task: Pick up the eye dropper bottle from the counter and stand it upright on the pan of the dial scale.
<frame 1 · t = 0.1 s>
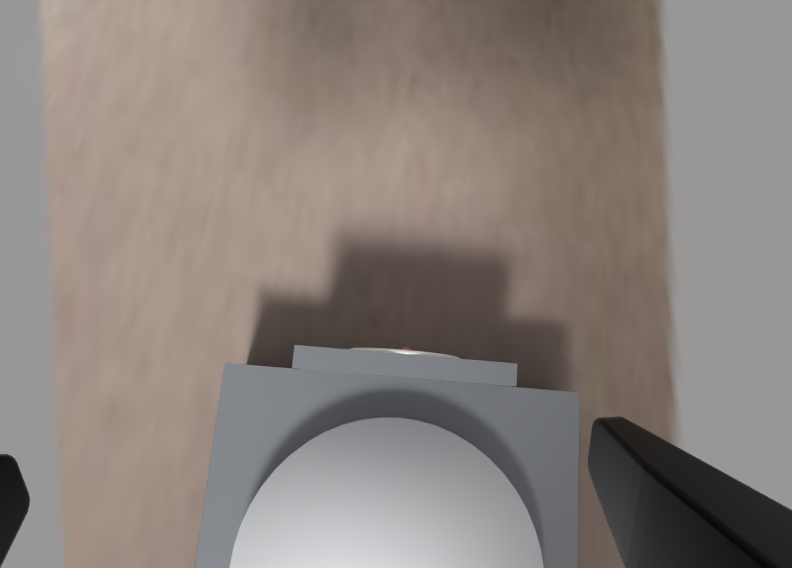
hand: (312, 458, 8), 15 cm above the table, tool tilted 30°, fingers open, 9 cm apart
dial scale: (387, 545, 21), on the table
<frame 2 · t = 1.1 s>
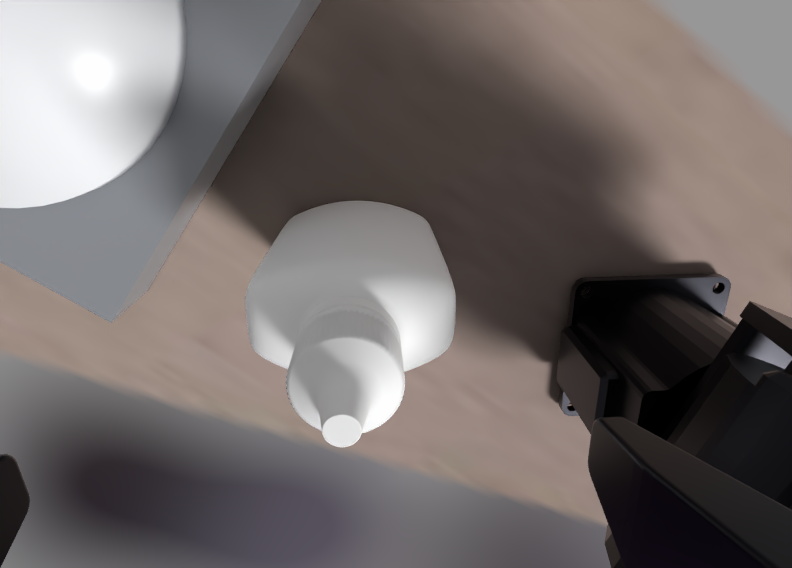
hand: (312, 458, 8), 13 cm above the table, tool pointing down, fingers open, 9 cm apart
dial scale: (48, 19, 17), on the table
eye dropper bottle: (358, 240, 20), on the table
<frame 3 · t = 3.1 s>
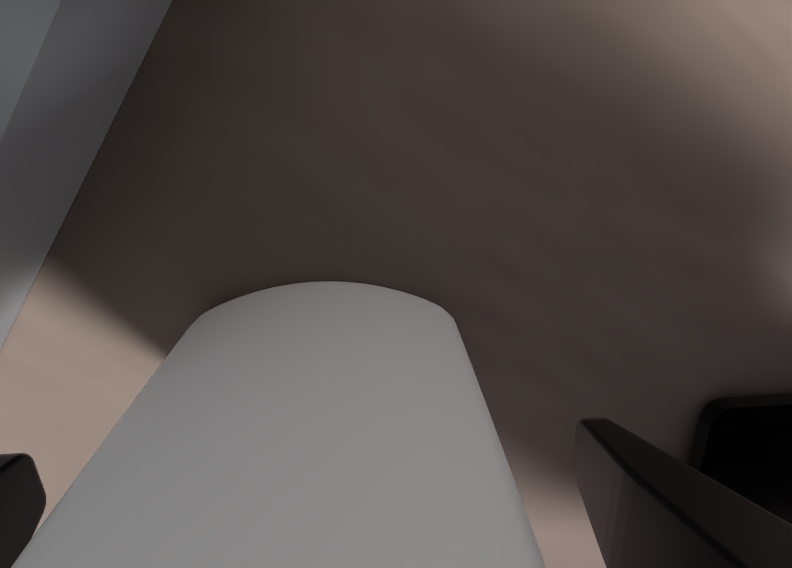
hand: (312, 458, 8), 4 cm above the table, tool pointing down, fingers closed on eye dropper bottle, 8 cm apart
eye dropper bottle: (328, 345, 11), on the table, touching gripper
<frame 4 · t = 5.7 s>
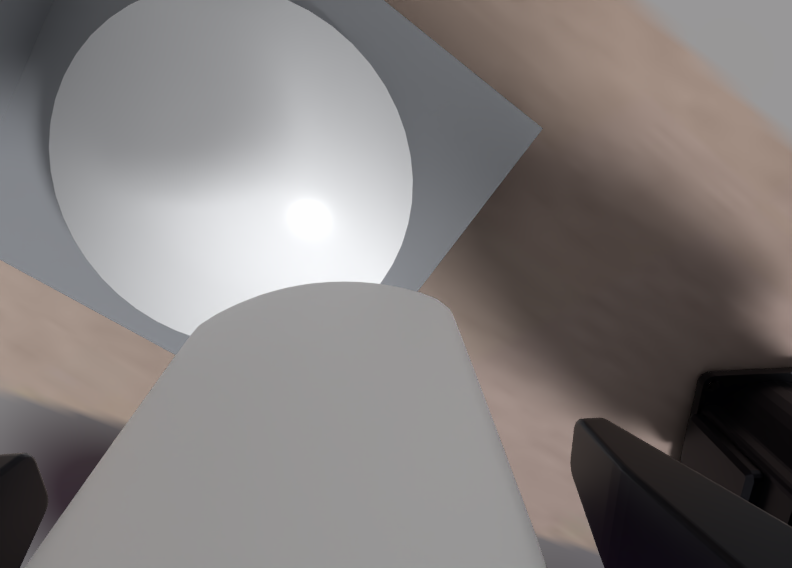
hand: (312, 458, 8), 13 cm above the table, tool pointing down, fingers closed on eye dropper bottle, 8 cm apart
dial scale: (262, 169, 19), on the table
eye dropper bottle: (328, 346, 11), point 10 cm above the table, touching gripper
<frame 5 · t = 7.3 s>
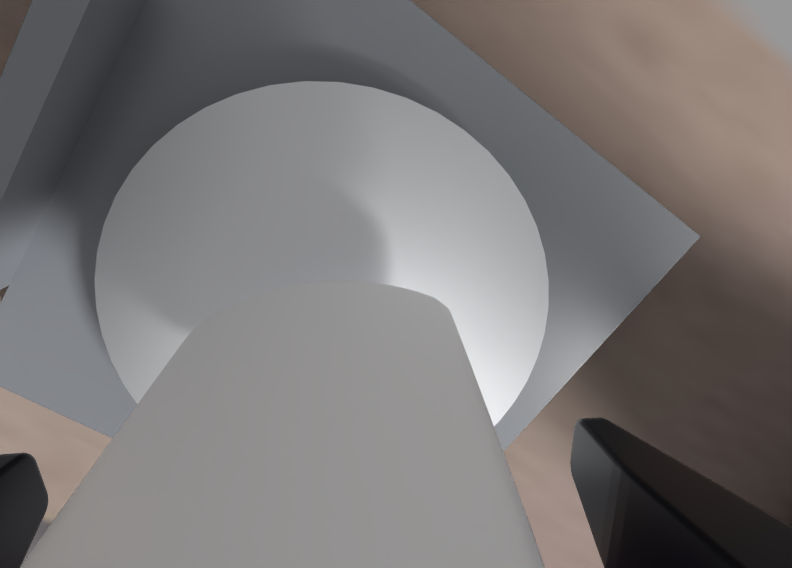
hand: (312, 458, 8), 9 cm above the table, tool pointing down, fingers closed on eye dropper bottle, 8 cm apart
dial scale: (337, 267, 16), on the table
eye dropper bottle: (327, 345, 11), point 5 cm above the table, touching gripper
when the fingers open (9 cm above the table, at t = 8.7 s): eye dropper bottle drops 1 cm, resting on dial scale.
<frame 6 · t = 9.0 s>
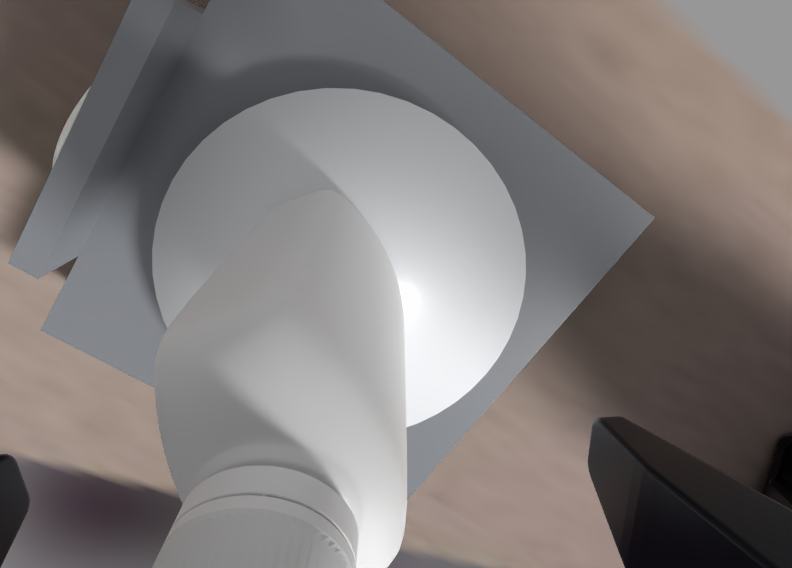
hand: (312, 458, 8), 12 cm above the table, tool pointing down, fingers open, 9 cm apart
dial scale: (348, 247, 19), on the table
eye dropper bottle: (339, 279, 15), point 4 cm above the table, touching dial scale
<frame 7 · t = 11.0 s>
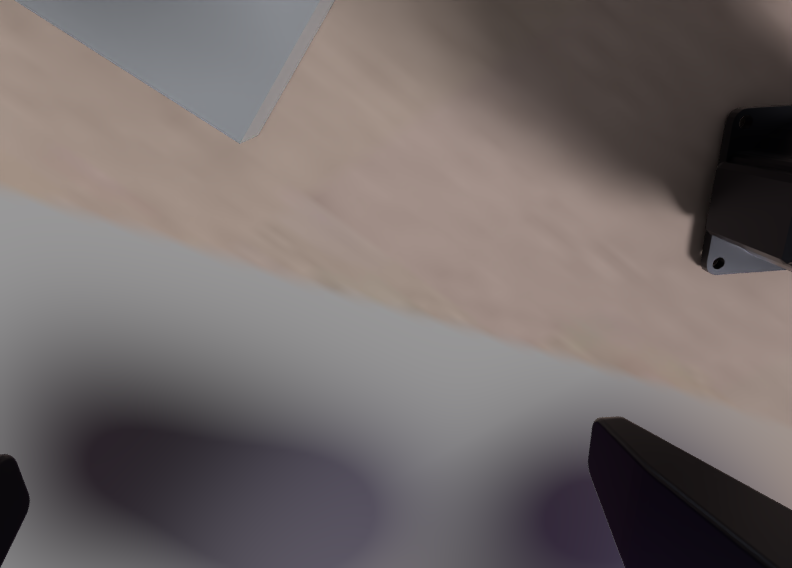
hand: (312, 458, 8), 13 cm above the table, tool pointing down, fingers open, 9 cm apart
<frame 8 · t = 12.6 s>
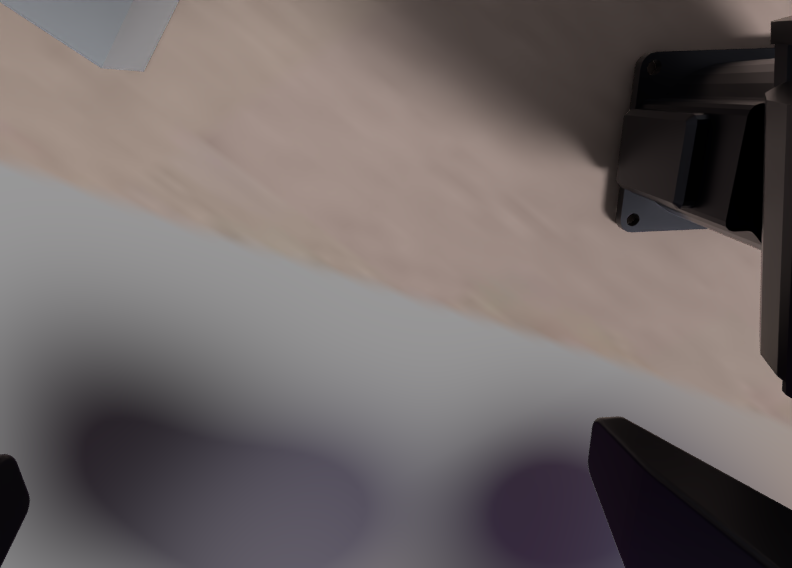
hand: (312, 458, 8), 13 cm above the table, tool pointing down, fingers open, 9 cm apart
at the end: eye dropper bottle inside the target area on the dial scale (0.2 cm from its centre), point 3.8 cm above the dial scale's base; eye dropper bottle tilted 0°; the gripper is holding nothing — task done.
